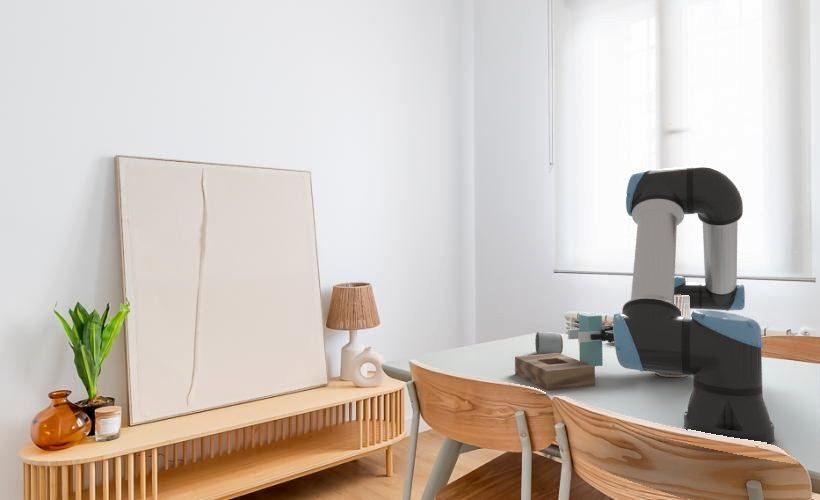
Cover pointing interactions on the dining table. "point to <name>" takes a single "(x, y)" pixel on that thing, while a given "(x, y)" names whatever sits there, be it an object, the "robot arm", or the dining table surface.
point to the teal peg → (591, 350)
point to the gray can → (548, 343)
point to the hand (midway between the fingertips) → (574, 335)
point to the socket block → (555, 371)
